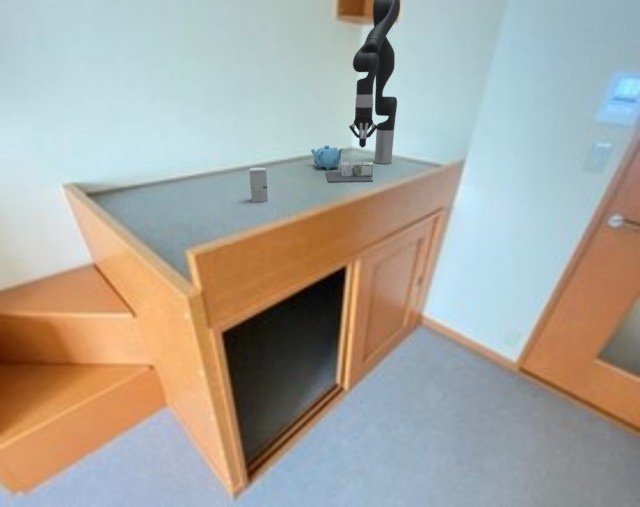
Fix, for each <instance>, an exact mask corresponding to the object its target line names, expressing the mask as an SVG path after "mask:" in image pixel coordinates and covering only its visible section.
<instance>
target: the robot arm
mask: <svg viewBox="0 0 640 507" xmlns="http://www.w3.org/2000/svg"><path fill="white" fill-rule="evenodd" d="M400 11H401V2H400V0H373V3H372V20H373V28H372V29H370V31H369V32H368V34H367V37H366V39H365V41H364V44H363V45H362V46H361V47H360V48H359V49H358V50H357V52H356V53H355V54H354V56H353V60H352V67H353V69H354V71H355V72H357V73H367V75H366V76H365V77H363V78H359V79H358V80H357V81H356V93H355V103H354V104H355V107H354V109H355V110H354V119H353V123H352V124H351V125H350V124H349V126H348V128H349V129H350V130H351V132H352V133H353V135H354V136H355V137H356V138H358V139H359V141H358V143H359V144H358V145H359V147H360V148H365V146H367V139H368V138H370V137H372V135H373V134H374V133H375V132H376V134H375V147H374V148H375V150H374V163H375V164H380V165H381V164H382V165H389V164H392V160H393V148H394V135H395V127H396V126H395V125H396V114H397V110H398V109H397V108H398V99H397V97H396V96H384V95H383V93H384V89H385V87H386V85H387V83H388V81H389V80H390V78H391V76H392V74H393V73H394V70H395V58H396V56H395V51H394V48H393V46H392V43H390V40H389V39H388V37H387V35H388V33H389V32H390V30H391V29H392V27H393V26H394V24H395V23H396V21H397V19H398V17H399V15H400ZM374 83H375V95H374ZM374 96H375V98H374ZM374 100H375V101H374ZM373 109H374V110H373ZM373 111H374V112H375V115H376V116H382V117H388V118H387V119H385V121H384V120H383V122H382V121H381V122H379V123H377V124H375V123H374V120H373ZM370 128H371V129H370ZM356 129H357V131H358V132H357V131H356ZM368 130H369V131H368Z"/></svg>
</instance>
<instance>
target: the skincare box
mask: <svg viewBox="0 0 640 507" xmlns="http://www.w3.org/2000/svg"><path fill="white" fill-rule="evenodd" d="M248 169H249V170H248V171H249V181H250V182H249V183H250V193H251V197H250V198H251V202H252V203H259V202H268V201H269V200H268V183H267V179H268V178H267V169H266V167H265V166H264V167H249V168H248Z"/></svg>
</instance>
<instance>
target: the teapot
mask: <svg viewBox="0 0 640 507" xmlns="http://www.w3.org/2000/svg"><path fill="white" fill-rule="evenodd" d="M343 150H344V148H339V149H338V147H330V145H327V144H326V145H324V147H319V148H317V150H316V149H315V148H312V149H311V150H310V152H311V153H312V155H313V156H314V159H313V160H314V161H313V162H314V165H315V166H316V167H317V169H319V170H320V169H322V168H325V170H326V171H331V168H332V169H337V166H339V164H340V160H341V157H342V151H343Z"/></svg>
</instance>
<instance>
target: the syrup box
mask: <svg viewBox="0 0 640 507" xmlns="http://www.w3.org/2000/svg"><path fill="white" fill-rule="evenodd" d="M340 166H341V171H340V172H341V175H342V176H359V177H360V176H365V177H366V176H367V177H368V176H369V177H371V178H372V177H373V171H374V163H373V161H341V165H340Z"/></svg>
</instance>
